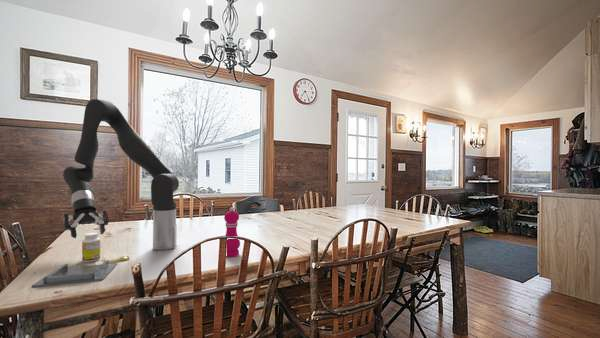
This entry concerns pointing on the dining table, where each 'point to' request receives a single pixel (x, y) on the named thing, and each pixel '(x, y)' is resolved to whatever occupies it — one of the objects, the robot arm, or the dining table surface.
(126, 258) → the brass lever handle
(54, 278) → the dark grey tray
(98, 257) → the supplement bottle
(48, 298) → the dining table surface
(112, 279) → the dining table surface
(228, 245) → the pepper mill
